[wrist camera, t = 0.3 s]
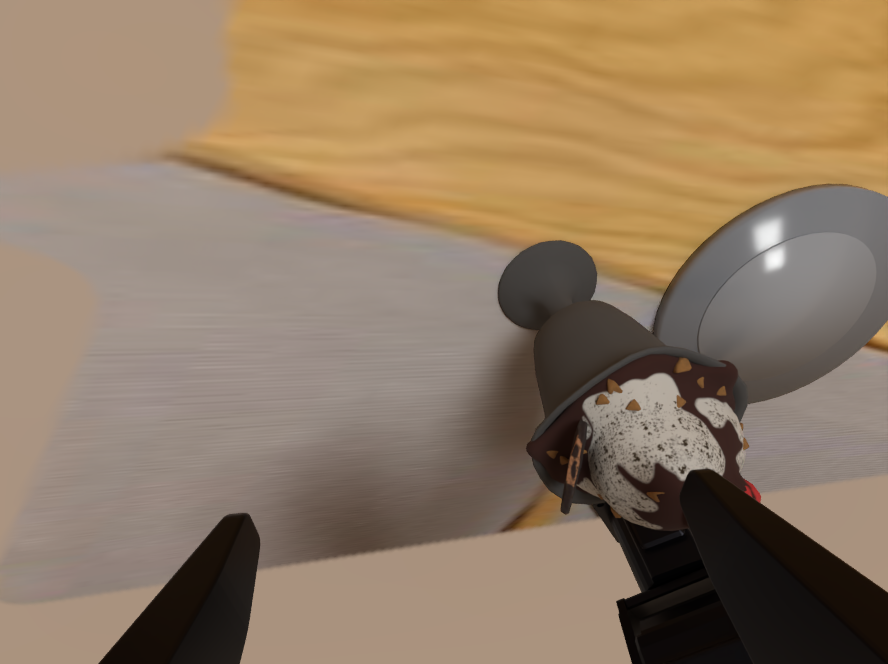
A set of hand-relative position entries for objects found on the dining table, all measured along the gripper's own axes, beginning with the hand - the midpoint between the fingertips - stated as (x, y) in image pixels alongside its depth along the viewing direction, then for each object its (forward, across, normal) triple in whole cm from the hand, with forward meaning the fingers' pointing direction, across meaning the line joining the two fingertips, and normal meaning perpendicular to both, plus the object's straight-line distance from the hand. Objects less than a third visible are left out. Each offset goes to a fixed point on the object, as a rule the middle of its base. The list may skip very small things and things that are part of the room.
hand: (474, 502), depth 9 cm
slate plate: (+14, -18, +5) cm, 23 cm away
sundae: (+14, -6, +2) cm, 15 cm away
